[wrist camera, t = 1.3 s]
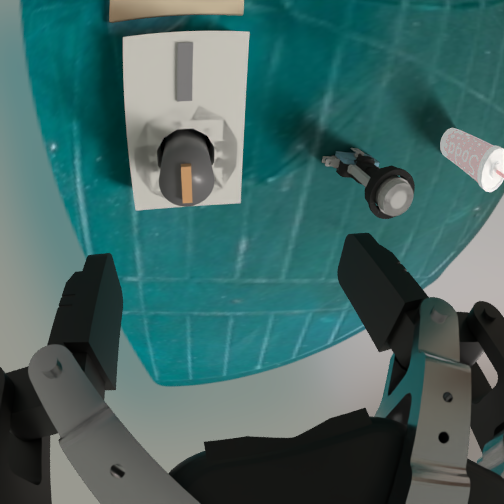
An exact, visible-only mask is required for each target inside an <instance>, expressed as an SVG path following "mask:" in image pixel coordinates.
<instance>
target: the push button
mask: <svg viewBox="0 0 504 504" xmlns="http://www.w3.org/2000/svg"><path fill="white" fill-rule="evenodd" d="M351 149H352V150H353V151H354V152H356V153H349V152H338V151H336V154H335V156H332V157H328V156H323V158H322V163H325V166H334V167H333V168H337V171H336V172H337V173H338V174H339V175H340V176H342V177H351V178H353V179H354V180H355V181H357V182H358V183H360V184H363V185H364V186H365V187H366V188H365V199H366V200H367V202H368V204H369V208H370V210H371V211H372V212H373V213H374V215H376V216H377V217H379V218H382V219H389V218H393V217H395V216H398V215H401V214H402V213H403V212H405V211H406V210H407V209H408V208H409V206H410V205H411V202H412V199H413V194H414V181H413V178H412V176H411V175H410V174H409V173H408V172H407V171H405V170H403V169H400V168H397V167H394V166H388V167H384V168H379V167H378V166H379V162H378V161H377V160H376V159H374V158H373V157H372V156H371V155H369V154H364V153H363V152H362V151H361V150H359V149H357V148H351ZM354 149H355V150H354ZM326 158H328V159H326ZM325 159H326V161H325ZM328 163H330V164H328ZM397 175H400V177H401V178H400V177H398V176H397ZM375 203H376V204H377V205H378V206H376V204H375Z"/></svg>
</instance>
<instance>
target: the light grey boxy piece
mask: <svg viewBox="0 0 504 504" xmlns="http://www.w3.org/2000/svg"><path fill="white" fill-rule="evenodd" d="M248 48H249V32H242V31H183V32H166V33H154V34H144V35H135V36H127V37H123V80H124V102H125V118H126V131H127V142H128V152H129V162H130V170H131V179H132V187H133V194H134V201H135V208H136V210H147V209H159V208H172V207H185V206H178V205H175V204H173V203H171V202H169V201H168V200H167V199H166V198H165V197H164V196H163V194H162V193H161V191H160V188H159V175H160V169H161V163H162V157H163V152H162V150H161V142H162V140H163V138H164V137H166V136H168V135H169V134H171V133H172V132H174V131H175V130H177V129H195V130H197V131H199V132H201V133H203V134H205V135H207V136H208V138H209V140H210V148H209V149H208V152H209V156H210V160H211V165H212V169H213V173H214V179H215V182H214V187H213V190H212V192H211V194H210V195H209V196H208V197H207V198H206V199H205V200H204V201H202V202H201V203H199V204H196V205H193V206H200V205H216V204H233V203H241V180H242V159H243V138H244V119H245V100H246V82H247V65H248Z"/></svg>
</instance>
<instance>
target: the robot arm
mask: <svg viewBox="0 0 504 504" xmlns="http://www.w3.org/2000/svg"><path fill="white" fill-rule="evenodd" d="M338 280H339V283H340V285H341V287H342V289H343V290H344V292H345V294H346V295H347V297H348V299H349V300H350V302H351V304H352V306H353V307H354V309H355V311H356V312H357V314H358V316H359V318H360V319H361V321H362V323H363V324H364V326H365V328H366V330H367V331H368V333H369V335H370V337H371V338H372V340H373V342H374V344H375V346H376V347H377V349H378V351H379V352H382V351H385V350H388V349H392V351H393V352H394V353H393V355H392V357H391V359H390V364H389V369H388V375H387V380H386V384H385V389H384V393H383V398H382V401H381V404H380V407H379V408H378V410H377V412H376V414H375V416H374V417H369V415H368V413H367V411H366V408H363V409H360V410H357V411H353V412H351V413H347V414H343V415H340V416H337V417H333V418H330V419H328V420H326V421H325V422H323V423H321V424H319V425H318V426H315V427H314V428H312V429H310V430H308V431H306V432H304V433H302V434H300V435H298V436H296V437H293V438H268V437H267V438H266V437H249V436H246V437H240V438H233V439H225V440H218V441H208V442H204V445H205V451H203V452H200V453H198V454H196V455H193V456H192V457H189V458H187V459H186V460H184V461H183V462H181V463H180V464H178V465H177V466H176V467H175V468H173V469H172V470H171V471H170V472H169V473H167V472H166V471H165V470H164V469H163V468H162V467H161V466H160V465H159V464H158V463H157V462H156V461H155V460H154V459H153V458H152V457H151V456H150V455H149V453H147V451H146V450H145V449H144V448H143V447H142V446H141V445H140V444H139V442H138V441H137V440H136V439H135V438H134V437H133V436H132V434H131V433H130V432H129V431H128V430H127V428H126V427H125V426H124V425H123V424H122V422H121V421H120V420H119V419H118V418H117V417H116V415H115V414H114V413H113V411H112V410H111V409H110V408H109V406H108V405H107V404H106V403H105V401H104V394H105V390H116V376H117V361H118V347H119V337H120V328H121V319H122V310H123V296H122V290H121V286H120V283H119V279H118V276H117V272H116V269H115V265H114V261H113V258H112V255H111V254H110V253H106V254H95V255H88V257H87V259H86V262H85V265H84V268H83V271H80V272H75V273H74V274H73V275H72V276H71V278H70V279H69V280H68V281H67V282H66V285H65V288H64V291H63V294H62V298H61V300H60V303H59V308H58V310H57V313H56V316H55V319H54V323H53V326H52V330H51V334H50V338H49V341H48V345H47V346H45V347H43V348H41V349H40V350H38V351H37V352H36V353H35V354H34V356H33V357H32V359H31V360H30V363H29V366H28V367H25V368H22V369H18V370H15V371H12V372H9V373H5V372H4V371H3V370H2V368H1V367H0V504H52V502H51V485H50V435H53V434H56V433H59V435H60V439H59V444H60V446H61V448H62V450H63V452H64V453H65V455H66V456H67V458H68V460H69V461H70V462H71V464H72V465H73V467H74V468H75V470H76V471H77V473H78V474H79V476H80V477H81V478H82V480H83V481H84V483H85V484H86V485H87V487H88V488H89V489H90V491H91V492H92V493H93V495H94V496H95V497H96V498H97V500H98V501H99V502H100V504H504V317H503V316H502V315H501V313H500V312H499V311H498V310H497V309H496V308H495V307H494V306H493V305H491V304H489V303H487V302H484V301H479V302H477V303H475V305H474V306H473V308H472V310H471V311H470V313H467V312H456V311H455V310H454V309H453V307H452V306H451V305H450V304H448V303H447V302H446V301H444V300H442V299H440V298H435V297H430V298H429V297H428V296H427V295H426V293H425V292H424V291H423V290H422V288H421V287H420V286H419V284H418V283H417V282H416V281H415V280H414V278H413V277H412V276H411V275H410V273H409V272H407V271H406V268H405V267H404V266H403V265H402V264H400V261H399V260H398V259H397V258H396V257H395V255H394V254H393V253H392V252H390V251H389V250H387V249H386V248H384V247H383V246H381V245H379V244H378V243H377V241H376V240H375V239H374V238H373V237H372V236H371V235H370V234H369V233H357V234H348V235H347V237H346V239H345V243H344V247H343V251H342V255H341V258H340V262H339V266H338ZM483 352H485V353H486V355H487V357H488V358H489V360H490V361H491V363H492V365H493V366H494V368H495V370H496V371H497V374H498V382H497V384H496V386H495V387H494V388H493V389H492V388H491V386H490V384H489V383H488V381H487V379H486V377H485V376H484V374H483V372H482V370H481V369H480V367H479V366H478V364H477V362H476V361H477V360H478V359H479V357H480V356H481V355H482V354H483ZM470 426H471V429H472V431H473V433H474V435H475V437H476V440H477V442H478V444H479V446H480V449H481V451H482V457H480V458H479V459H478V461H477V463H475V462H473V461H471V460H469V459H467V455H468V446H469V434H470Z"/></svg>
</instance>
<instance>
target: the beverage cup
mask: <svg viewBox="0 0 504 504" xmlns="http://www.w3.org/2000/svg"><path fill="white" fill-rule="evenodd" d="M440 150H441V152H442V154H443V155H444V156H445V157H446V158H448V159H449V160H451V161H452V162H453V163H454V164H456V165H457V166H458V167H460V168H461V169H462V170H463V171H465V172H466V173H467V174H468V175H470V176H471V177H472V178H473V179H475V180H476V181H477V182H478V183H479V186H481V187H482V188H483V189H484V190H485V191H486V192H492V191H494V190H496V189H497V188H498V187H499V186H500V185H501V183H502V182H503V180H504V149H503V148H501V147H499V146H493V145H491V144H489V143H487V142H485V141H483V140H481V139H479V138H477V137H475V136H472V135H470V134H468V133H466V132H463V131H461V130H459V129H456V128H450V129H448V130H447V131H446V132H445V133H444V134H443V136H442V138H441V142H440Z"/></svg>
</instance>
